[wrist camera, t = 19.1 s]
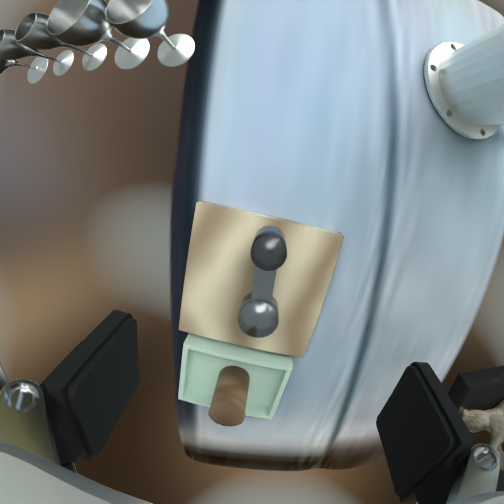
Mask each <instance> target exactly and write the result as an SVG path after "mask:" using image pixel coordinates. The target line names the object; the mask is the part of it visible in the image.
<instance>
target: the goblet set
mask: <svg viewBox="0 0 504 504" xmlns="http://www.w3.org/2000/svg"><path fill="white" fill-rule="evenodd" d="M168 19H169V7H168V4H167V1H166V0H110V2H109V3H108V4H107V3H106V2H105V1H104V0H60V1H59V3H58V4H57V5H56V6H55V7H54V9H53V10H52V12H51V14H50V16H48V15H45V14H41V13H37V12H32V13H29V14H28V15H27V16H26V17H24V18H23V20H22V21H21V22H20V24H19V25H18V27H17V29H16V31H15V30H10V29H1V30H0V74H1V73H2V72H3V71H4V70H6V69H7V68H9V67H11V66H23V67H28V68H29V71H28V76H27V77H28V81H29V83H31V84H34V83H36V82H38V81H39V80H40V79H41V78H42V77H43V75H44V74H45V72H46V69H47V66H48V59H51V60H53V61H55V62H54V66H53V71H54V73H55V75H58V76H59V75H62V74H64V73H65V72H67V71H68V69H69V68H70V67H71V65H72V63H73V58H74V55H73V52H72V51H70V50H66V51H64V52H62V53H61V54H60V55H59V56H58V57H57V59H55V58H53V57H50V56H48V55H45V54H43V53H41V52H39V51H38V50H50V49H55V48H61V47H66V48H72V49H75V50H78V51H80V52H83V53H84V57H83V60H82V65H83V68H84V69H85V70H89V71H90V70H94V69H96V68H97V67H98V66H100V65H101V64H102V63H103V61H104V60H105V58H106V54H107V48H106V46H105V45H104V44H100V43H99V44H95V43H98V42H100V41H103V40H108V41H111V42H113V43H115V44H117V45H118V46H119V47H118V49H117V51H116V53H115V63H116V65H117V66H118V67H119V68H121V69H132V68H134V67H136V66H138V65H139V64H141V63H142V62H143V61H144V59H145V58H146V57H147V54H148V52H149V48H150V45H149V42H148V40H147V39H146V38H150V37H153V36H157V37H159V38H161V39H162V40H164V41H163V42H162V43H161V45H160V46H159V49H158V53H157V56H158V59H159V61H160V62H161V63H162V64H163V65H165V66H169V67H175V66H178V65H181V64H183V63H185V62H186V61H188V60H189V59H190V57H191V56H192V55H193V53H194V50H195V43H194V40H193V39H192V38H191V37H190V36H188V35H186V34H175V35H172V36H170V37H167V36H166V34H165V33H164V28H165V26H166V24H167V22H168ZM112 26H113V27H114V28H115V29H116V30H117V31H118V32H119V33H121V34H123V35H125V36H127V37H130V38H128V39H126V40H125V41H124V42H123V43H121V42H120V41H119V40H117V39H116V38H115V37H114V36H113V34H112V32H111V29H112ZM92 44H95V45H93V46H92V47H90V48H89V49H88V50H87V51H84V50H82V49H81V48H79V47H77V46H88V45H92ZM30 56H38V57H37V58H36V59H35V60H34V61H33V63H32V64H31V66H29V65H26V64H22V63H20V62H18V61H16V59H21V58H25V57H30Z"/></svg>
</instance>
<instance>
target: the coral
mask: <svg viewBox="0 0 504 504" xmlns="http://www.w3.org/2000/svg"><path fill="white" fill-rule="evenodd" d="M448 395H449V397H450V398H451V400H452V402H453V403H454V405H455V407H456V409H457V410H458V412H459V414H460V415H461V417H462V419H463V421H464V422H465V424H466V426H467V428H468V430H469V431H470V432H473V433H475V432H478V431H481V430H488V432H491V441H490V444H489V446H490V447H492V448H493V449H494V450H495V451H496V452H497V454H498V455H499V458H500V469H501V470H503V471H504V452H503V451H502V447H501V445H502V443H503V442H504V366H499V367H494V368H489V369H482V370H477V371H470V372H464V373H459V375H458V376H457V378H456V380H455V382H454V384H453V386H452V387H451V389H450V391H449V393H448Z"/></svg>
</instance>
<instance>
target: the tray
mask: <svg viewBox="0 0 504 504" xmlns="http://www.w3.org/2000/svg"><path fill="white" fill-rule="evenodd" d="M227 366H238V367H241V368H243V369H245V370H246V371H247V372H248V374H249V376H250V381H249V388H248V395H247V403H246V410H245V415H247V416H252V417H258V418H264V419H270V420H272V418H273V416H274V413H275V411H276V409H277V406H278V404H279V402H280V399H281V397H282V394H283V392H284V389H285V387H286V384H287V382H288V379H289V377H290V374H291V372H292V369H293V360H292V356H290V355H285V354H279V353H274V352H269V351H264V350H259V349H255V348H250V347H245V346H241V345H236V344H232V343H228V342H224V341H219V340H215V339H211V338H207V337H203V336H199V335H196V334H192V333H189V334H188V336H187V338H186V340H185V342H184V344H183V353H182V363H181V373H180V384H179V395H178V399H180V400H184V401H187V402H191V403H194V404H198V405H202V406H206V407H210V406H211V402H212V398H213V395H214V391H215V387H216V384H217V380H218V376H219V373H220V371H221V370H222V369H223V368H224V367H227Z"/></svg>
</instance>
